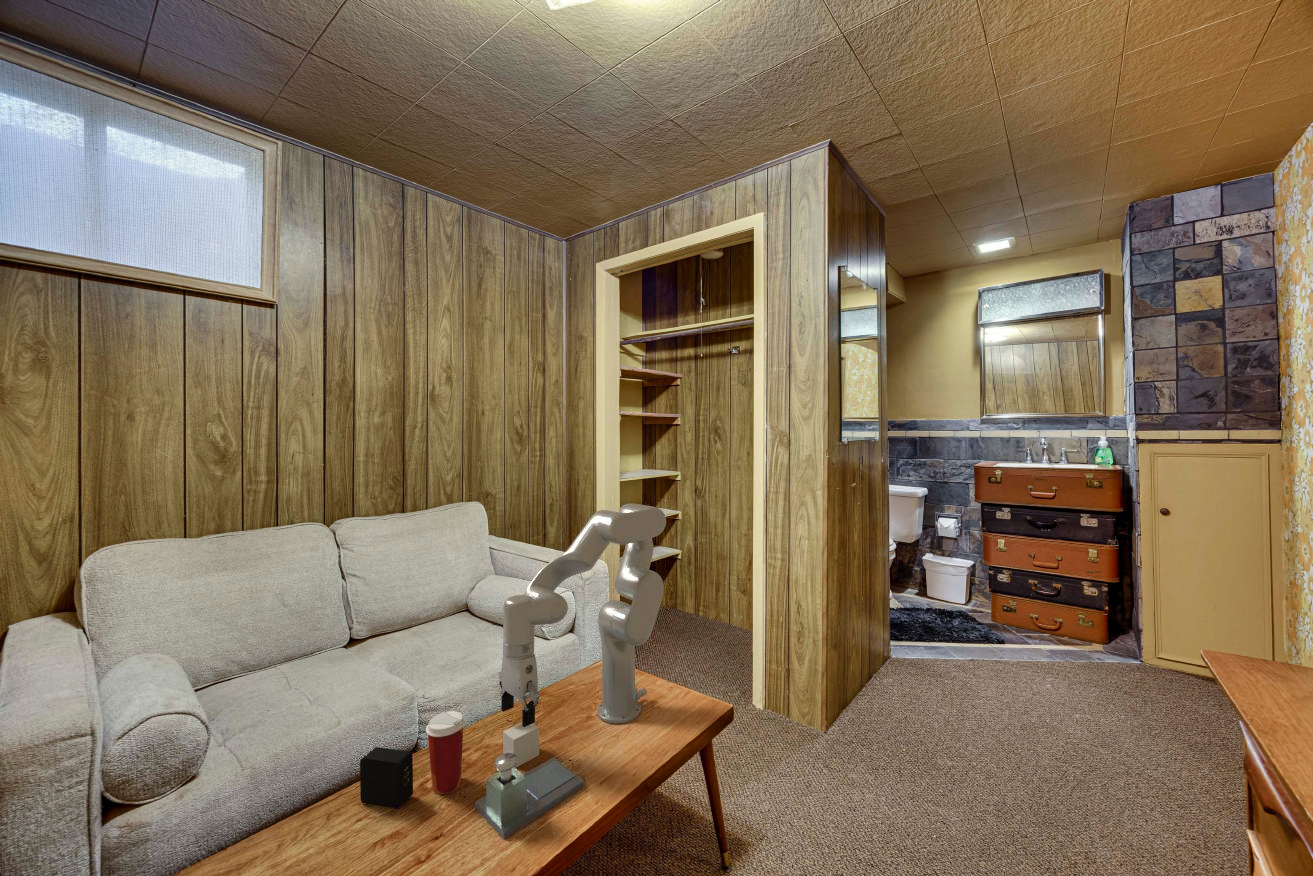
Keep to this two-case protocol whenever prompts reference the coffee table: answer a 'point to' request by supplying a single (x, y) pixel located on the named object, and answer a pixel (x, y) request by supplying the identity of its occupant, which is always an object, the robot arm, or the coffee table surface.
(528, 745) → the block
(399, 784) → the electronic device
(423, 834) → the coffee table surface
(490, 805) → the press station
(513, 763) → the pin
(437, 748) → the coffee cup
